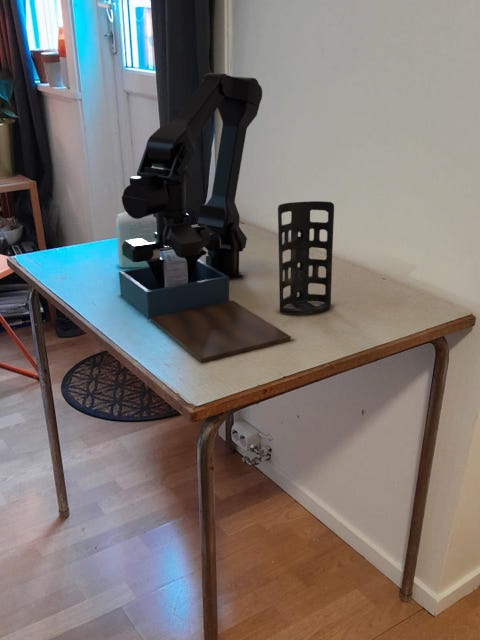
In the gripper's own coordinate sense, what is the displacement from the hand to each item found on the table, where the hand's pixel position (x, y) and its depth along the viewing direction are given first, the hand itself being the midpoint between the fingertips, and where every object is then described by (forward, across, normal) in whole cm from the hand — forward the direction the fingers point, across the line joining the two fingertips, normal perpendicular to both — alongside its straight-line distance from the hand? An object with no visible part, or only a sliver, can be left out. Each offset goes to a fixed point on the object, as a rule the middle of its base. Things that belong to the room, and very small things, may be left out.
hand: (174, 287), depth 131 cm
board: (+2, 0, -18) cm, 18 cm away
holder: (+3, +20, -16) cm, 26 cm away
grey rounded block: (+3, +3, +23) cm, 23 cm away
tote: (+2, 0, 0) cm, 3 cm away
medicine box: (+2, 0, 0) cm, 2 cm away
